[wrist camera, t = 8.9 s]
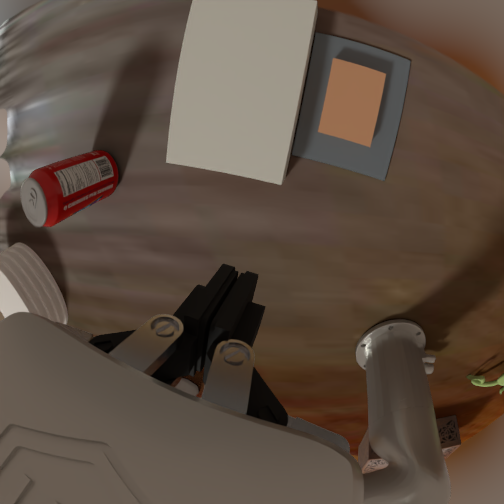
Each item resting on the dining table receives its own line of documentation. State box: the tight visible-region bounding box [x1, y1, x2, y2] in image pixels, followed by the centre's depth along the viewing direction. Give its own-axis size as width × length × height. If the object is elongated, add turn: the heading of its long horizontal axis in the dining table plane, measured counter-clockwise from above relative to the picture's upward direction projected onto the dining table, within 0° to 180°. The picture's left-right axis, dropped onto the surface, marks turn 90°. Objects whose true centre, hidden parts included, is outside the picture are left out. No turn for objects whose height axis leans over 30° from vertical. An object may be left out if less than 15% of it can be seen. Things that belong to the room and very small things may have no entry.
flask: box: [175, 378, 199, 396], centre depth 55 cm, size 7×7×10 cm
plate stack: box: [0, 243, 68, 325], centre depth 55 cm, size 28×28×12 cm
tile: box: [318, 58, 386, 147], centre depth 26 cm, size 6×9×2 cm, turn 170°
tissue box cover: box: [358, 415, 461, 474], centre depth 49 cm, size 26×14×10 cm, turn 97°
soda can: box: [21, 150, 118, 227], centre depth 31 cm, size 8×8×15 cm
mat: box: [292, 32, 411, 181], centre depth 26 cm, size 12×16×1 cm
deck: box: [166, 0, 318, 185], centre depth 26 cm, size 14×22×4 cm, turn 170°
